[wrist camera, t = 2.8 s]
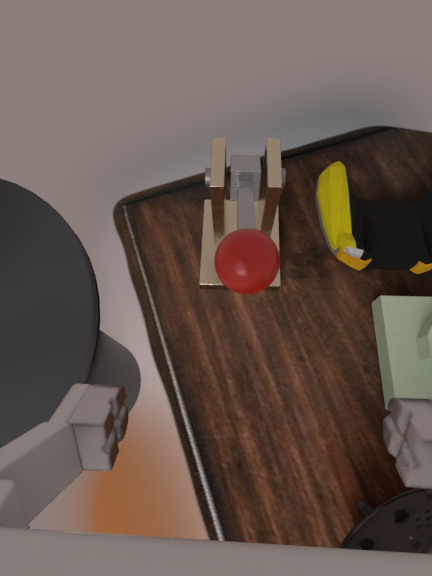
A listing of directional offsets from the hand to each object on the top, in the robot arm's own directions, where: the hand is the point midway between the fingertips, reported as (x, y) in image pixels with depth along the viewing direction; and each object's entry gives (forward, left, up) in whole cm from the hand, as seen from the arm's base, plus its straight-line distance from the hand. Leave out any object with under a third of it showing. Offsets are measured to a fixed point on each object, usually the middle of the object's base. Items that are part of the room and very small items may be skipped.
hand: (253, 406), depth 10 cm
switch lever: (0, +11, -9) cm, 15 cm away
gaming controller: (+15, +19, -21) cm, 32 cm away
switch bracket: (0, +17, -21) cm, 27 cm away
